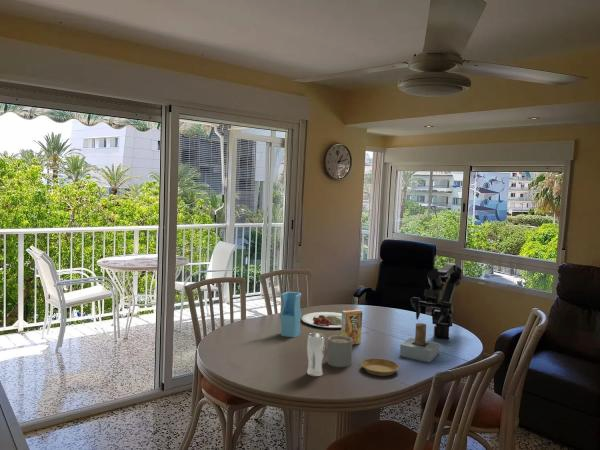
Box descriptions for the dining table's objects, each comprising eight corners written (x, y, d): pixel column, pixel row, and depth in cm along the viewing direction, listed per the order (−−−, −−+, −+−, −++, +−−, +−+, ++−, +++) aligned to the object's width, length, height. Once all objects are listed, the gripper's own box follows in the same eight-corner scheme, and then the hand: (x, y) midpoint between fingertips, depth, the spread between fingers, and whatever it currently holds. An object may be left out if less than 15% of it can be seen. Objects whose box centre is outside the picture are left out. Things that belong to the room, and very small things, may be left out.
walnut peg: (420, 351, 214) (422, 322, 213) (426, 355, 210) (428, 325, 209) (412, 352, 212) (413, 323, 211) (418, 355, 208) (419, 326, 207)
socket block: (410, 348, 220) (410, 337, 220) (438, 354, 213) (439, 343, 213) (399, 355, 209) (400, 344, 209) (429, 362, 202) (430, 350, 202)
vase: (279, 335, 232) (281, 294, 230) (286, 331, 239) (287, 291, 238) (294, 337, 229) (296, 296, 228) (300, 333, 236) (302, 293, 235)
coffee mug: (343, 369, 191) (344, 344, 190) (322, 363, 197) (323, 338, 196) (360, 360, 201) (361, 336, 201) (340, 354, 207) (341, 332, 207)
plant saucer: (372, 361, 201) (373, 355, 201) (405, 371, 192) (405, 364, 192) (353, 371, 190) (353, 364, 189) (386, 381, 180) (387, 374, 180)
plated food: (360, 318, 271) (360, 312, 270) (353, 333, 241) (354, 326, 241) (307, 313, 277) (308, 307, 277) (295, 327, 248) (295, 320, 248)
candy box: (356, 341, 227) (357, 309, 226) (361, 343, 224) (362, 311, 222) (340, 343, 223) (341, 310, 222) (344, 345, 220) (346, 312, 219)
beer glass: (305, 370, 188) (306, 332, 187) (322, 370, 189) (324, 332, 188) (306, 376, 181) (308, 337, 180) (325, 377, 182) (326, 337, 181)
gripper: (412, 279, 225) (403, 307, 217) (453, 285, 215) (444, 314, 207) (417, 293, 232) (408, 321, 224) (456, 299, 222) (448, 328, 214)
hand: (426, 320), depth 217 cm, fingers open, 9 cm apart
